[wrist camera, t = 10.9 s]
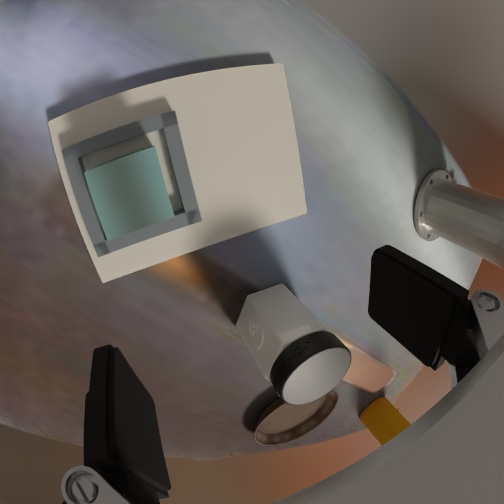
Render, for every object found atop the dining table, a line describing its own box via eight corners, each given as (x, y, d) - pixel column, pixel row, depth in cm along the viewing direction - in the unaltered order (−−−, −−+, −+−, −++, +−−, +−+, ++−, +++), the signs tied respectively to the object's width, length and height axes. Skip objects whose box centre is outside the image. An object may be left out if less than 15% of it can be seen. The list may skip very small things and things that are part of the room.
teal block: (152, 145, 22) (155, 146, 16) (167, 199, 24) (174, 217, 19) (98, 164, 20) (84, 172, 15) (115, 218, 23) (107, 241, 17)
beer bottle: (379, 409, 67) (436, 472, 42) (355, 423, 63) (413, 492, 39) (388, 391, 63) (453, 457, 38) (364, 405, 60) (430, 479, 35)
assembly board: (275, 66, 24) (290, 60, 21) (299, 209, 31) (314, 217, 28) (52, 122, 18) (42, 120, 16) (104, 276, 25) (101, 290, 23)
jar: (251, 277, 32) (305, 342, 22) (307, 286, 36) (366, 341, 25) (227, 339, 34) (265, 412, 24) (280, 342, 38) (326, 403, 28)
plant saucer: (339, 397, 53) (347, 406, 50) (273, 442, 51) (278, 452, 48) (315, 362, 43) (325, 374, 41) (230, 420, 42) (236, 433, 39)
